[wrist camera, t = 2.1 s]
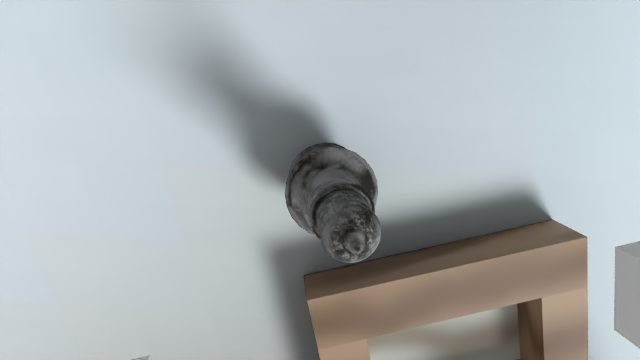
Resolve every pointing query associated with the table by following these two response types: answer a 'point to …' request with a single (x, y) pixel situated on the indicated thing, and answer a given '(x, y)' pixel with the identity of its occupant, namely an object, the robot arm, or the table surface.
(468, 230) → the table surface
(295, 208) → the stone chess piece
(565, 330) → the block
